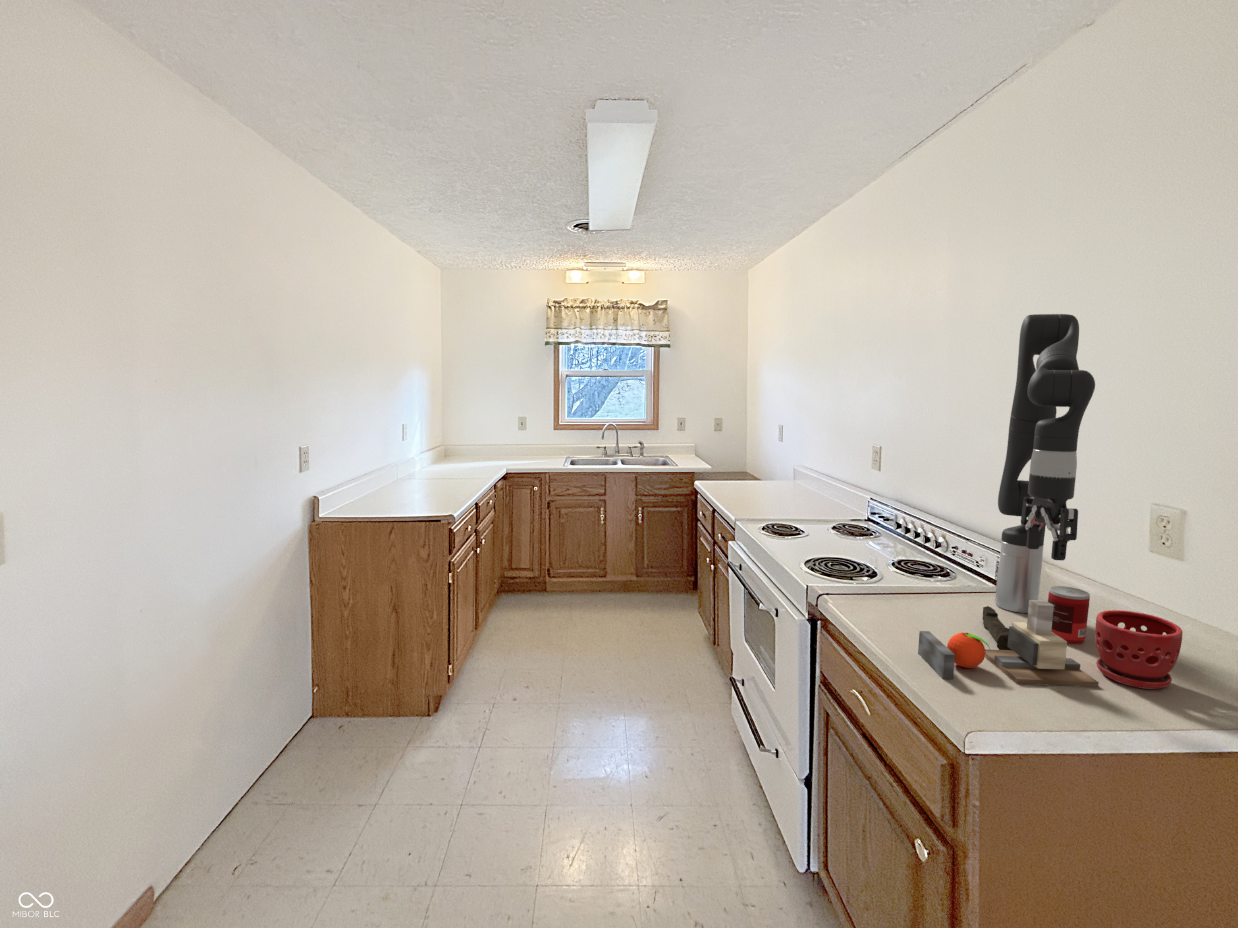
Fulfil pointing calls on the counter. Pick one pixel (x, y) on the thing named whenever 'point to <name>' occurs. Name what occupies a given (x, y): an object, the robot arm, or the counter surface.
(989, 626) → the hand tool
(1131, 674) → the plant pot
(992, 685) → the counter surface
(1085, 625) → the canned food
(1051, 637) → the jaw
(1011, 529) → the robot arm
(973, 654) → the clementine
